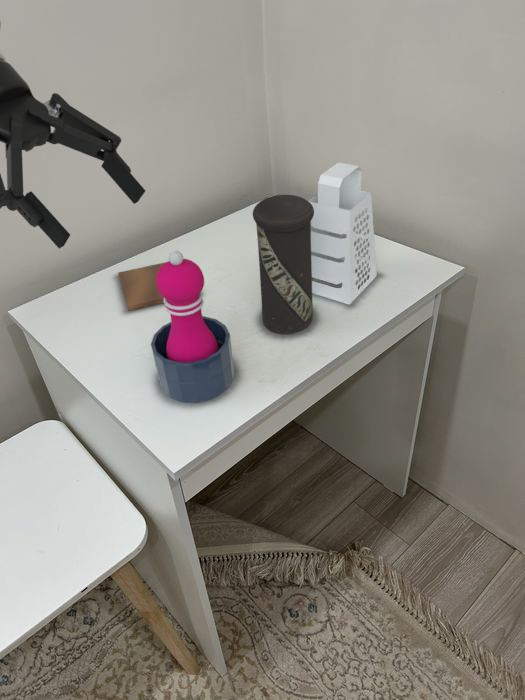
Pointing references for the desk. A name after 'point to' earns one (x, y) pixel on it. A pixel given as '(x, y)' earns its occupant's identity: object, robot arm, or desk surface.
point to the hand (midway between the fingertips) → (105, 218)
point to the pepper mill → (185, 310)
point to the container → (285, 262)
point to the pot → (195, 367)
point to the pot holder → (141, 287)
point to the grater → (342, 234)
